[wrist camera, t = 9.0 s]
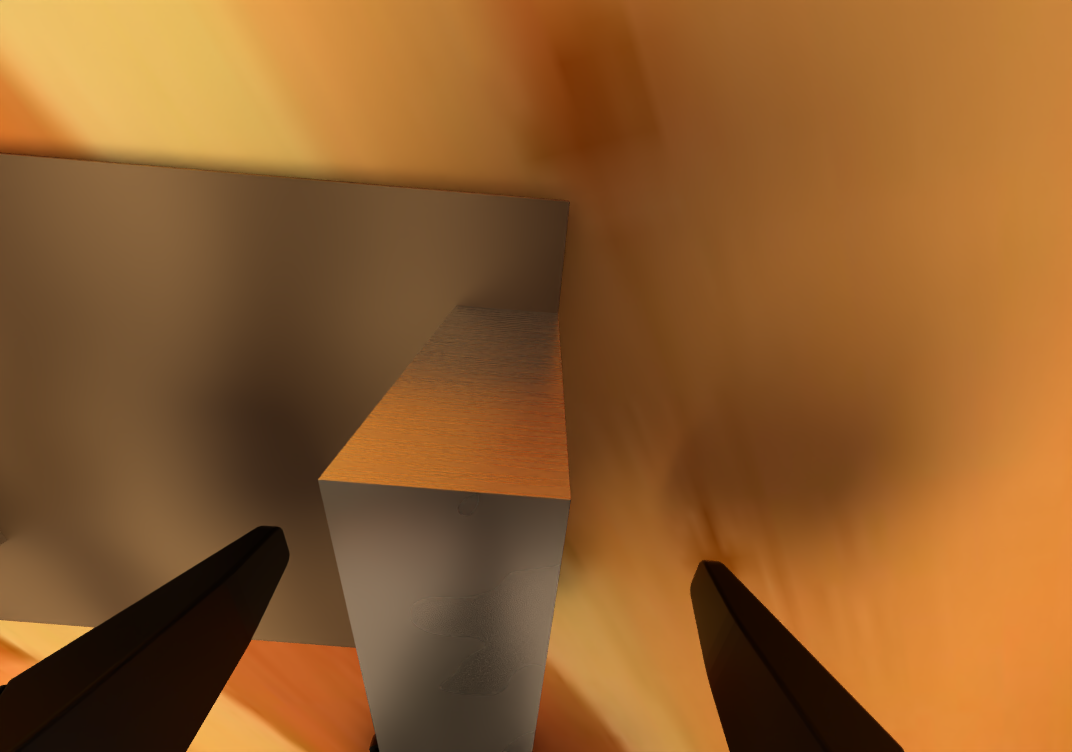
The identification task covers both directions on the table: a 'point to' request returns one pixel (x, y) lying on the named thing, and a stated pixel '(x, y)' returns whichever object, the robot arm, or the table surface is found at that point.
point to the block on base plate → (294, 418)
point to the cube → (2, 538)
